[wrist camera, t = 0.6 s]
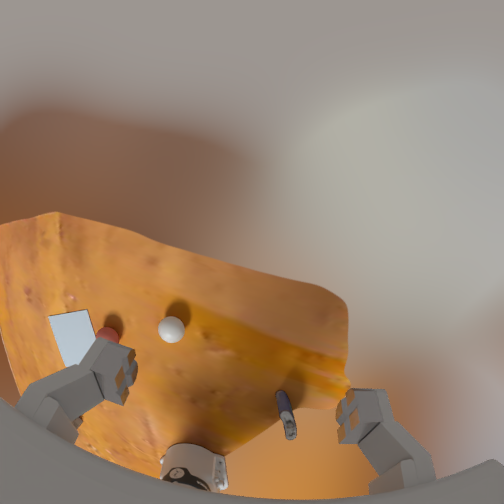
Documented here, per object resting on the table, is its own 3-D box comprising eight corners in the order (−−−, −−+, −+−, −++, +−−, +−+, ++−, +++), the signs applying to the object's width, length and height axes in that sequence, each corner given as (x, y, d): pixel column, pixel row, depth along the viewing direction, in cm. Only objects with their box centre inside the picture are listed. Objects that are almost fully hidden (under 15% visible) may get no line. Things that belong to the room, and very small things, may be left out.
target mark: (105, 364, 57) (105, 364, 56) (66, 366, 56) (65, 366, 56) (87, 309, 56) (86, 309, 56) (48, 316, 56) (48, 316, 56)
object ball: (125, 345, 57) (116, 353, 51) (106, 347, 56) (96, 355, 51) (118, 322, 56) (108, 329, 51) (99, 325, 56) (88, 332, 51)
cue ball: (190, 335, 57) (184, 344, 51) (166, 339, 57) (159, 348, 51) (183, 311, 56) (177, 318, 51) (159, 315, 56) (151, 322, 51)
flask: (274, 391, 58) (279, 417, 47) (286, 387, 58) (294, 413, 47) (282, 419, 58) (288, 447, 48) (294, 416, 59) (301, 443, 48)
